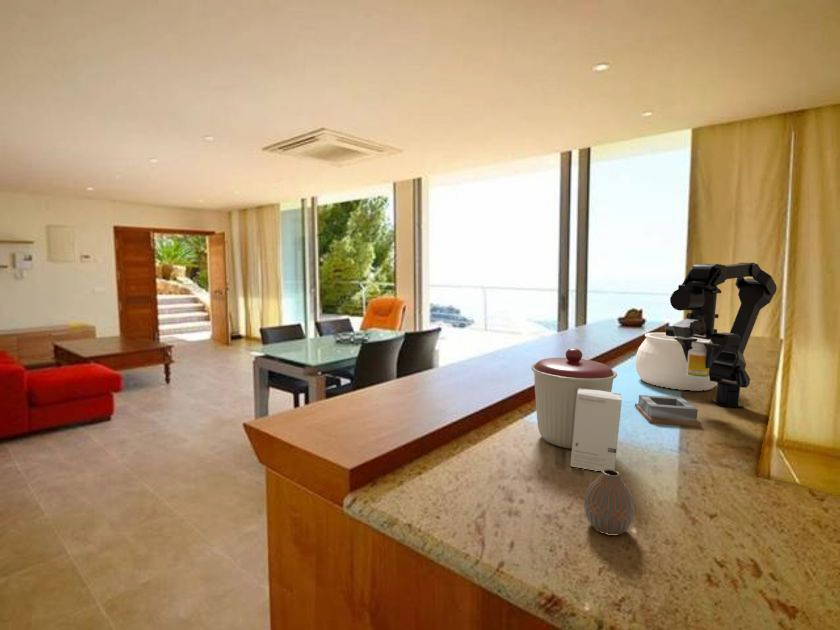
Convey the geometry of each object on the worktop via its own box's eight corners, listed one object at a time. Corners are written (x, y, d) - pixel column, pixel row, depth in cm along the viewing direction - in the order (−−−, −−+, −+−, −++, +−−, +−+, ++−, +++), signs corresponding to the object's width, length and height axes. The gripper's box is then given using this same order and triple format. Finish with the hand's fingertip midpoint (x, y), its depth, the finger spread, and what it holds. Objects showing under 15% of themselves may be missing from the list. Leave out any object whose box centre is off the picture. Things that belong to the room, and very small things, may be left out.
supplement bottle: (711, 379, 127) (715, 344, 126) (690, 378, 128) (693, 343, 127) (704, 375, 132) (707, 341, 131) (683, 374, 133) (686, 340, 132)
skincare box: (570, 468, 91) (574, 393, 89) (572, 456, 96) (576, 386, 95) (616, 476, 88) (622, 399, 86) (616, 464, 93) (621, 391, 92)
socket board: (634, 406, 133) (635, 393, 132) (680, 410, 131) (681, 396, 130) (649, 422, 119) (650, 407, 119) (700, 426, 117) (702, 411, 116)
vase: (575, 516, 73) (578, 462, 72) (617, 515, 74) (621, 462, 73) (595, 542, 66) (599, 483, 65) (642, 541, 67) (646, 482, 66)
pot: (742, 395, 148) (746, 344, 146) (657, 393, 148) (661, 342, 146) (691, 375, 176) (694, 331, 174) (620, 373, 176) (623, 330, 175)
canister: (512, 440, 105) (516, 347, 103) (551, 422, 118) (555, 339, 116) (591, 464, 93) (598, 360, 90) (624, 441, 106) (631, 349, 104)
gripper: (653, 307, 134) (648, 360, 136) (713, 313, 116) (707, 375, 118) (682, 306, 138) (678, 358, 139) (744, 313, 120) (739, 372, 122)
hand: (698, 365), depth 129 cm, fingers closed on supplement bottle, 5 cm apart
